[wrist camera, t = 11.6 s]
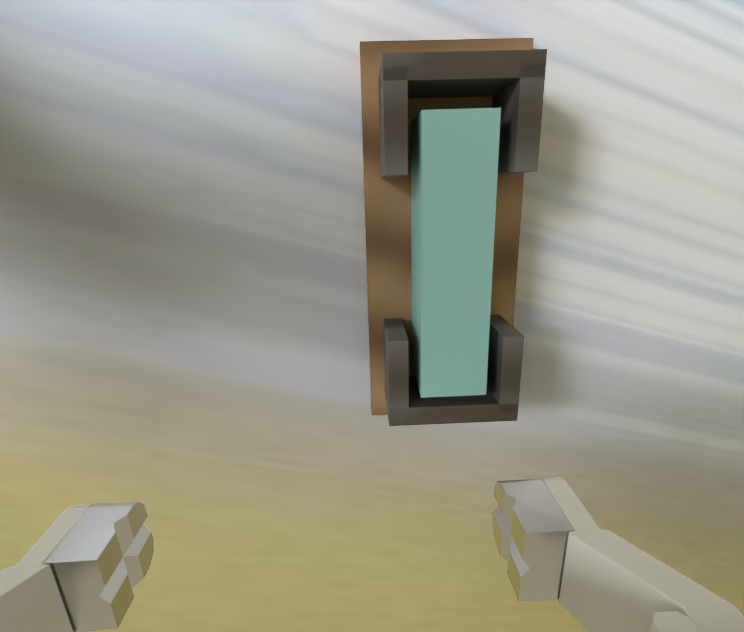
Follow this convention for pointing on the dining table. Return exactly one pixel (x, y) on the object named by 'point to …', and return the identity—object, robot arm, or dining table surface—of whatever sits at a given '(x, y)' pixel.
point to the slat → (452, 247)
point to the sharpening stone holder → (393, 206)
